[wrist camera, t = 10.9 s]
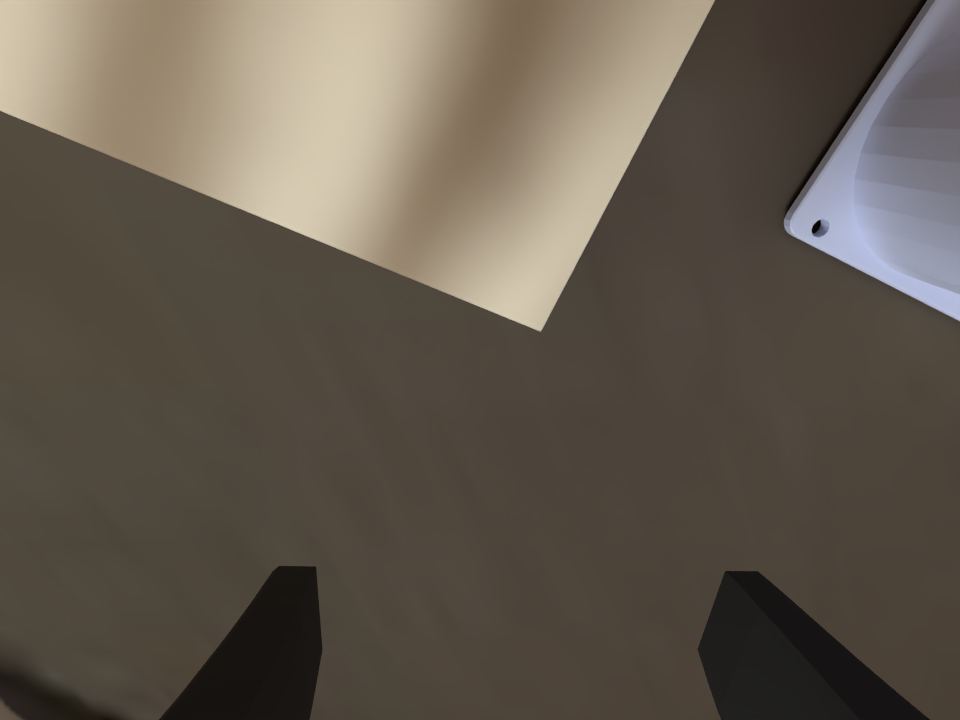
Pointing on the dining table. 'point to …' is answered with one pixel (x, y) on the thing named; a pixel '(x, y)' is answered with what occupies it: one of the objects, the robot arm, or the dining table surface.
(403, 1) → the socket block
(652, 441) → the dining table surface
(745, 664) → the robot arm
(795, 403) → the dining table surface
